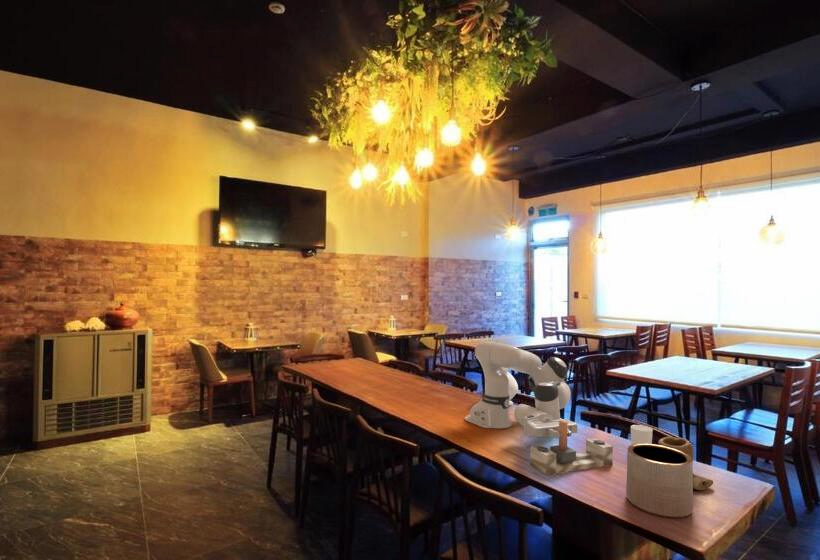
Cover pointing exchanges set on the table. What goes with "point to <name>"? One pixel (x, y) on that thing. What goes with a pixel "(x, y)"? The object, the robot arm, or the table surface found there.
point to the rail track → (592, 458)
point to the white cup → (641, 434)
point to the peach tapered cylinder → (563, 445)
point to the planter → (660, 480)
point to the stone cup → (687, 448)
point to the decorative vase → (511, 385)
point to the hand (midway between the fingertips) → (565, 434)
